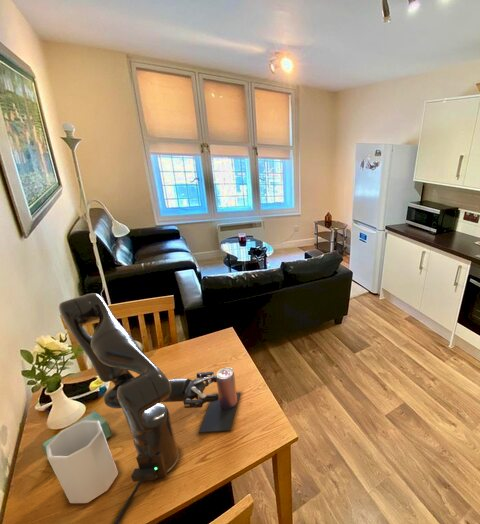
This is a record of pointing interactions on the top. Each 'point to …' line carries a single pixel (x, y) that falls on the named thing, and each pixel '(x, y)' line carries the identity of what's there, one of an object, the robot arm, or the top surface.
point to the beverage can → (226, 388)
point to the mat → (218, 417)
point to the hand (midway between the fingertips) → (221, 387)
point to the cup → (82, 461)
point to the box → (91, 417)
